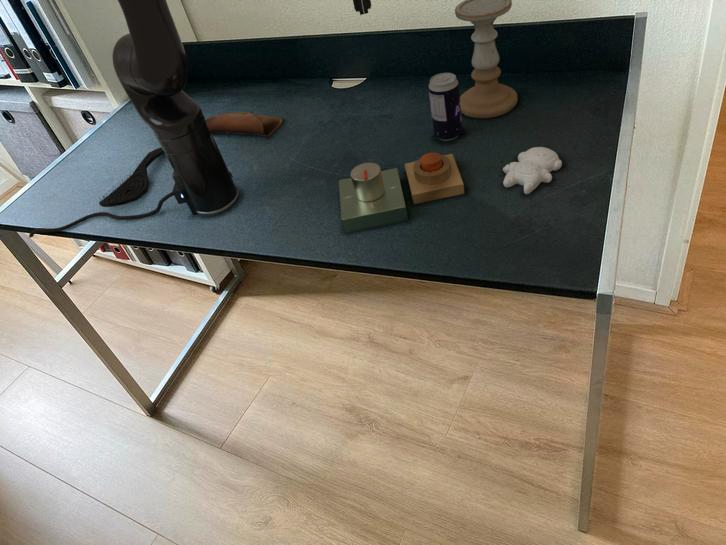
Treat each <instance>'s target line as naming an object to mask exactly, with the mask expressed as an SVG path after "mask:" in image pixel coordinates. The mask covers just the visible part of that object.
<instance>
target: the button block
mask: <svg viewBox="0 0 726 545" xmlns="http://www.w3.org/2000/svg"><path fill="white" fill-rule="evenodd" d="M440 155H441V160H442V167H441V169H439V170H437V171H433V172H425V171H423V170H422V166H421V157H420V158H419V159H417V160H416V161H411V162H406V163H404V168H405V173H406V174H405V175H406V179H407V184H408V186H409V187H408V188H409V191H410V195H411V200H412V204H413V205H417V204H422V203H427V202H431V201H436V200H441V199H445V198H451V197H455V196H460V195H464V194H465V186H464V185H465V184H464V182H463V179H462V176H461V173H460V170H459V168H458V166H457V162H456V159H455V156H454V154H453V153H448V154H440Z"/></svg>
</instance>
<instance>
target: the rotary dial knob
mask: <svg viewBox="0 0 726 545" xmlns="http://www.w3.org/2000/svg"><path fill="white" fill-rule="evenodd" d="M381 171H382V169H381V166H380V165H379V164H377V163H375V162H363V163H360V164H358V165H356V166H355V167H353V168H352V169H351V171H350V175H349V176H350V178H351V179H352V183H353V187H354V190H355V194H356V197H357V199H359V200H361V201H365V202H368V201H374V200H376V199H378V198H380V197H381V196H382V195H383V194H384V192H385V188H384V183H383V178H382V174H381Z"/></svg>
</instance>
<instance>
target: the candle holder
mask: <svg viewBox="0 0 726 545" xmlns="http://www.w3.org/2000/svg"><path fill="white" fill-rule="evenodd" d="M512 6H513V1H512V0H463V1H461V2H460V3H458V4H457V5H456V6H455V7H454V15H455V17H456V18H457V19H458V20H461V21H463V22H470V23H471V24H472V25H473V26H474V31H473V33H472V34H471V37H470V39H471V41H472V42H473V43H474V47H473V51H472V52H473V53H472V57H471V61H470V62H471V66H472V68H474V69H473V70H472V72H471V75H470V76H471V79H472V80H474V82H475V83H474V86H472V87H470V88H469V89H468V90H466V91H464V92H463V93H462V94H461V95H460V104H461V115H464V116H466V117H469V118H472V119H473V118H474V119H492V118H496V117H499V116H502V115H505V114H507V113H509V112H510V111H512V110H513V109H514V108H515V107H516V106H517V103H518V99H519V97H518V93H517V91H516V90H515V89H514V88H512V87H511V86H509V85H506V84H504V83H500V82H499V80H498V79H499V77H500V75H501V73H502V69H501V68H500V67H499V66H498V64H499V63H500V58H501V57H500V54H499V52H498V48H497V45H496V39H497V37H498V34H499V33H498V31H497V30H495V29H494V23H495V21H496V20H497V18H499V17H502V16H503V15H505V14H506V13H508V12H509V11H510V10H511V9H512Z"/></svg>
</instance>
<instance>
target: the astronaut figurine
mask: <svg viewBox="0 0 726 545" xmlns="http://www.w3.org/2000/svg"><path fill="white" fill-rule="evenodd" d="M562 165H563V161H562V160H561V159H560V157H559V155H558V154H557V152H555V151H554V150H552V149H551V148H548V147H545V146H534V147H531V148H529V149H527V150H526V151H522V152H520V153H519V154H518V155H517V161H511V162H509V163H507V164H506V165H505V166H503V168H502V171H503V173H504V174H506V175H505V176H504V179H503V182H502V184H503V187H505V188H511V187H513V186H515V185H520V186H523V194H525V195H530V194H531V193H532V192H533V191H534V190H536V189H537V187H538V186H539V185H540V184H541V183H546V184H549V183H551V182H552V181H553V176H552V174H551V172H552V171H553V172H554V171H555V172H556V171H558V170H560V169H561V168H562Z"/></svg>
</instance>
